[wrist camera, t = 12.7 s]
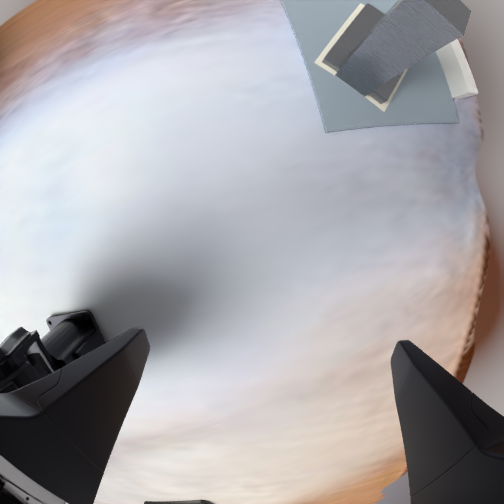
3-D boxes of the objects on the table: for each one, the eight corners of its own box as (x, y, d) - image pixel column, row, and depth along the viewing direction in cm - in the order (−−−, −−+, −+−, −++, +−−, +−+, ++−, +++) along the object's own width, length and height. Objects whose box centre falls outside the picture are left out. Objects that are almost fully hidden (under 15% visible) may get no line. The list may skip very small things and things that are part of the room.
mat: (325, 132, 18) (327, 131, 18) (274, -13, 15) (275, -16, 15) (456, 123, 18) (459, 122, 17) (404, -4, 14) (406, -6, 14)
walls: (317, 102, 18) (328, 89, 15) (270, -23, 15) (272, -42, 12) (459, 99, 17) (478, 93, 14) (409, -11, 14) (421, -23, 11)
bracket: (378, 107, 18) (484, 58, 6) (319, 65, 17) (383, -29, 5) (413, 46, 16) (495, -7, 4) (363, 8, 15) (423, -67, 3)
